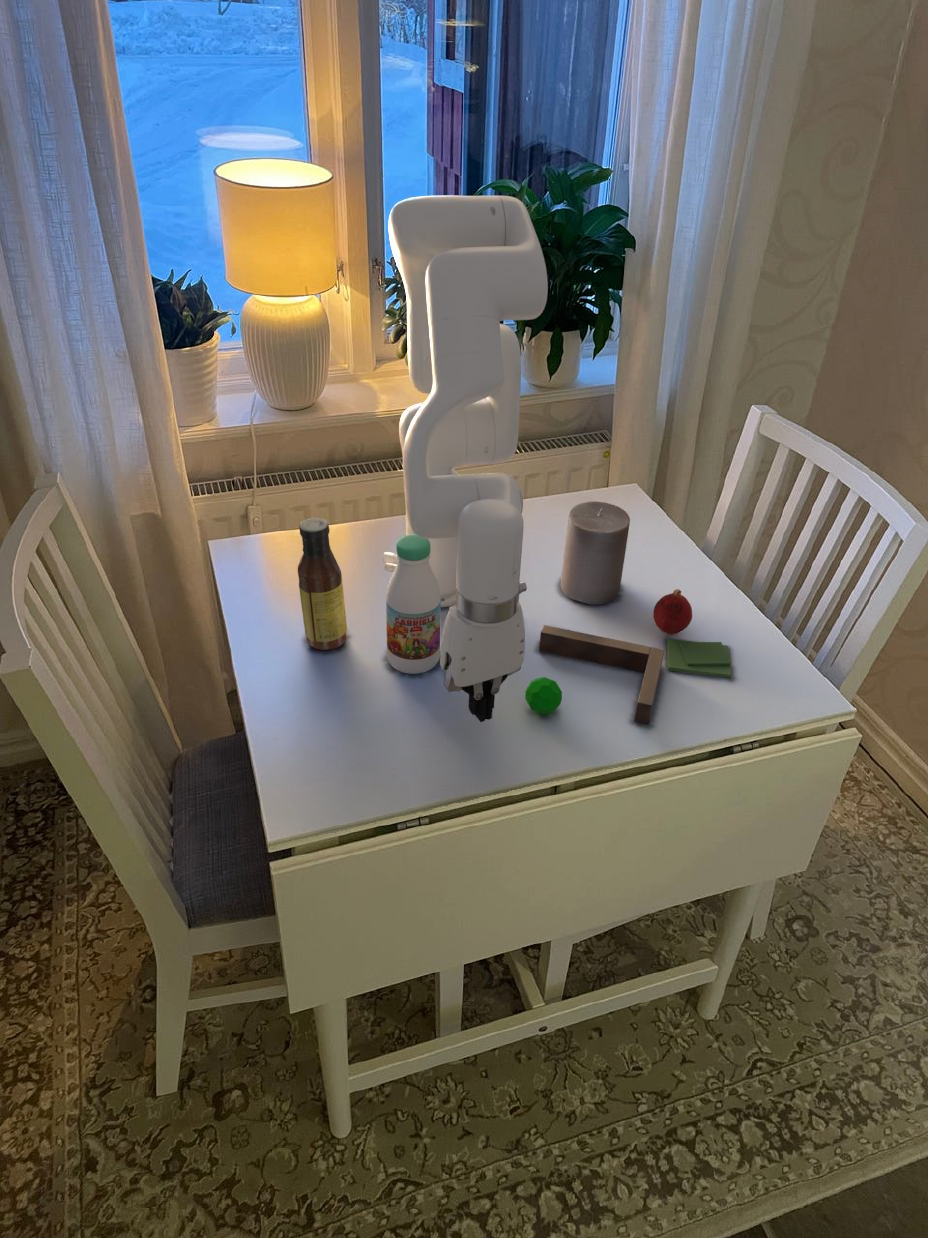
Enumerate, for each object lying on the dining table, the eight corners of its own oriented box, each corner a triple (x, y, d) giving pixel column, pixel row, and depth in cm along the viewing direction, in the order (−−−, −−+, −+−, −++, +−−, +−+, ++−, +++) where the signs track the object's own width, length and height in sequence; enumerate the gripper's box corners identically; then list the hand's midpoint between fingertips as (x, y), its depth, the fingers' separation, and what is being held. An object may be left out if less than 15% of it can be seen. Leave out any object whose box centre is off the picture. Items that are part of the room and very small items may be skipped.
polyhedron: (529, 693, 131) (531, 667, 128) (563, 701, 130) (566, 674, 127) (520, 716, 127) (523, 689, 125) (555, 724, 126) (559, 697, 123)
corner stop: (520, 696, 131) (522, 677, 129) (541, 643, 141) (543, 624, 139) (648, 725, 127) (652, 705, 125) (661, 668, 137) (664, 649, 135)
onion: (687, 647, 141) (696, 604, 136) (649, 641, 142) (657, 598, 137) (687, 625, 146) (696, 582, 141) (650, 620, 147) (658, 577, 142)
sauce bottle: (355, 634, 141) (349, 519, 130) (333, 657, 137) (325, 540, 125) (318, 622, 143) (309, 509, 132) (295, 644, 139) (284, 529, 127)
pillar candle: (603, 568, 158) (614, 490, 149) (629, 600, 151) (642, 519, 142) (550, 577, 156) (558, 497, 147) (574, 610, 148) (584, 528, 139)
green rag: (668, 670, 136) (669, 664, 136) (667, 641, 142) (668, 635, 142) (730, 678, 135) (732, 672, 135) (727, 648, 141) (728, 642, 141)
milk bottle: (379, 649, 138) (376, 533, 127) (428, 638, 141) (429, 523, 129) (397, 680, 133) (396, 562, 121) (447, 668, 135) (451, 551, 124)
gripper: (524, 570, 118) (515, 682, 129) (417, 598, 112) (417, 713, 123) (556, 600, 113) (544, 715, 123) (445, 631, 107) (442, 749, 117)
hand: (480, 714), depth 123 cm, fingers closed
